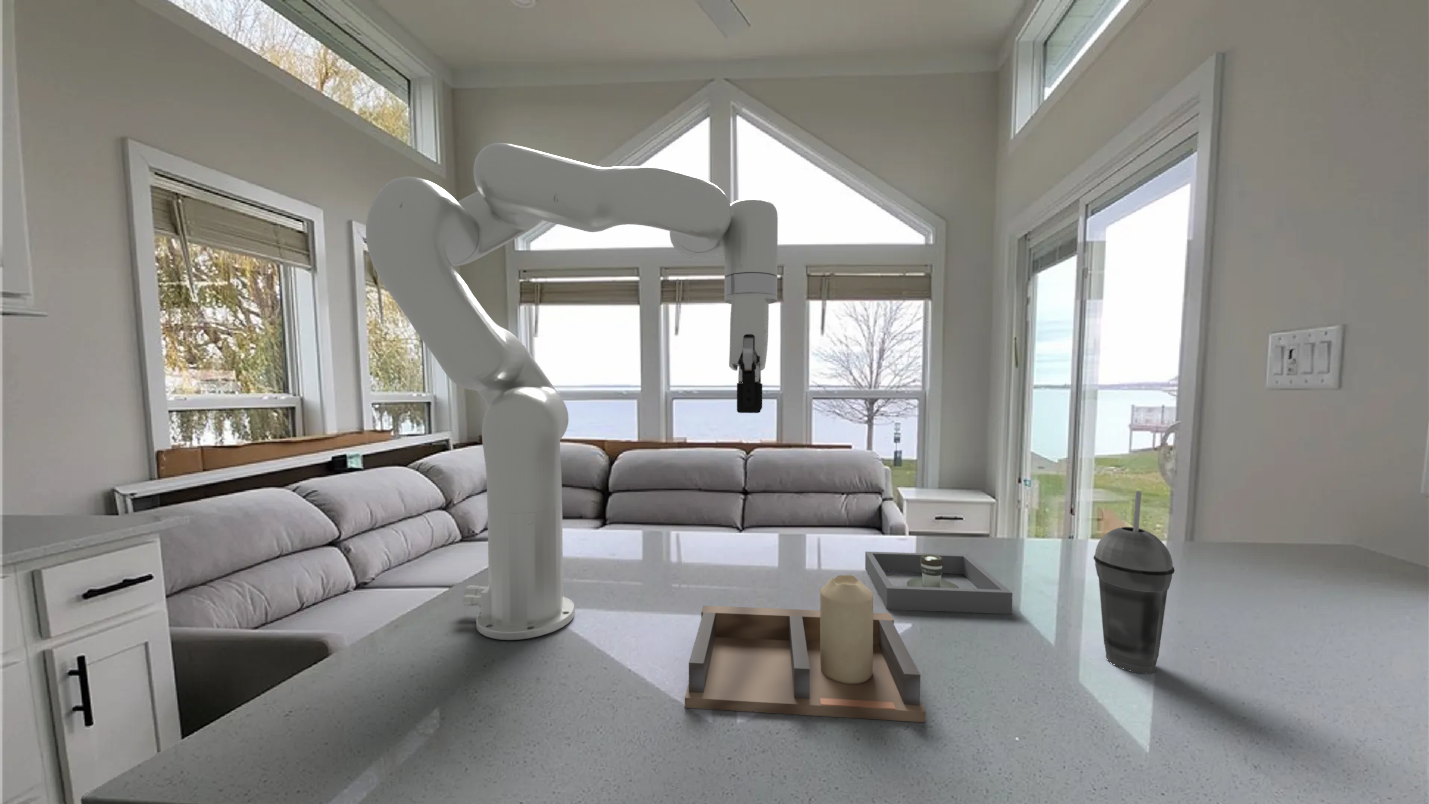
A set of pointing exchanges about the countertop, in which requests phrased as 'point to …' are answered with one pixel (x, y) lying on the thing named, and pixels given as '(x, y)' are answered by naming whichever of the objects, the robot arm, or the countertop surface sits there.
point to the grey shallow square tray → (979, 600)
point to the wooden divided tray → (795, 668)
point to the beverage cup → (1133, 594)
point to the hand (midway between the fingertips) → (750, 411)
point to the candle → (846, 630)
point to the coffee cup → (931, 573)
